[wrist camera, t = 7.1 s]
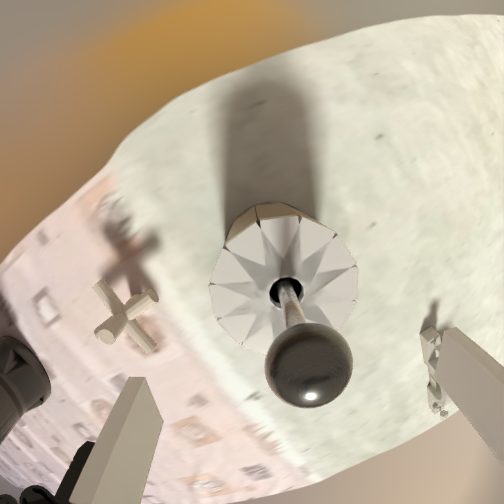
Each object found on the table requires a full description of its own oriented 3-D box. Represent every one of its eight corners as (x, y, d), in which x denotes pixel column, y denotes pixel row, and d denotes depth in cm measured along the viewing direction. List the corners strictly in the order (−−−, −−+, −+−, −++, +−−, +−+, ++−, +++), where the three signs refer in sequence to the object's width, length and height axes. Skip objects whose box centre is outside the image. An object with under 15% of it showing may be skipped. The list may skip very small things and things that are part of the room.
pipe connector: (140, 248, 34) (105, 272, 25) (189, 310, 36) (170, 353, 27) (92, 289, 36) (53, 320, 26) (137, 344, 38) (111, 386, 28)
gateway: (417, 332, 38) (443, 358, 31) (429, 324, 38) (456, 349, 30) (427, 404, 43) (445, 430, 35) (437, 398, 42) (455, 423, 35)
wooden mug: (236, 322, 37) (230, 394, 23) (219, 208, 33) (198, 227, 20) (321, 311, 37) (354, 376, 23) (313, 197, 33) (356, 209, 20)
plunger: (242, 294, 33) (233, 458, 11) (232, 223, 31) (195, 318, 10) (312, 285, 32) (392, 431, 11) (307, 214, 31) (418, 286, 9)
